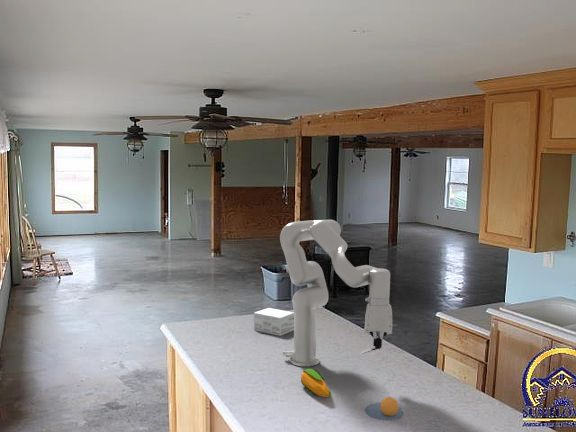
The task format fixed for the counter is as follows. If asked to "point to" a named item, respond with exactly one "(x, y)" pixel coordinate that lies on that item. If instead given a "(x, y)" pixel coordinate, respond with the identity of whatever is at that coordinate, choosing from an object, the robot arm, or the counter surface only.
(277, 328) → the supplement box
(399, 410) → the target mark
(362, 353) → the chef's knife
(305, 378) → the corn
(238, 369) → the counter surface
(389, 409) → the ball
